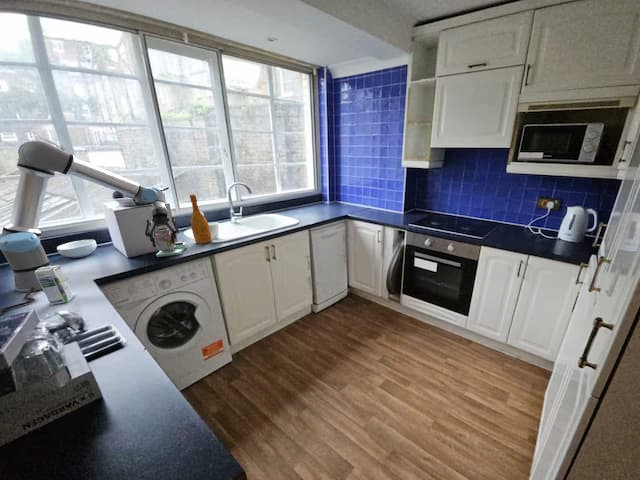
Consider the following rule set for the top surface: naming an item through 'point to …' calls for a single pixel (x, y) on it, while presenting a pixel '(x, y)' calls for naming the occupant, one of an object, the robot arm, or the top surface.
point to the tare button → (178, 243)
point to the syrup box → (54, 284)
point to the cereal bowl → (77, 248)
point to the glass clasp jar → (164, 239)
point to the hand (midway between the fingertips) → (164, 244)
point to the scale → (172, 251)
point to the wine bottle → (199, 224)
